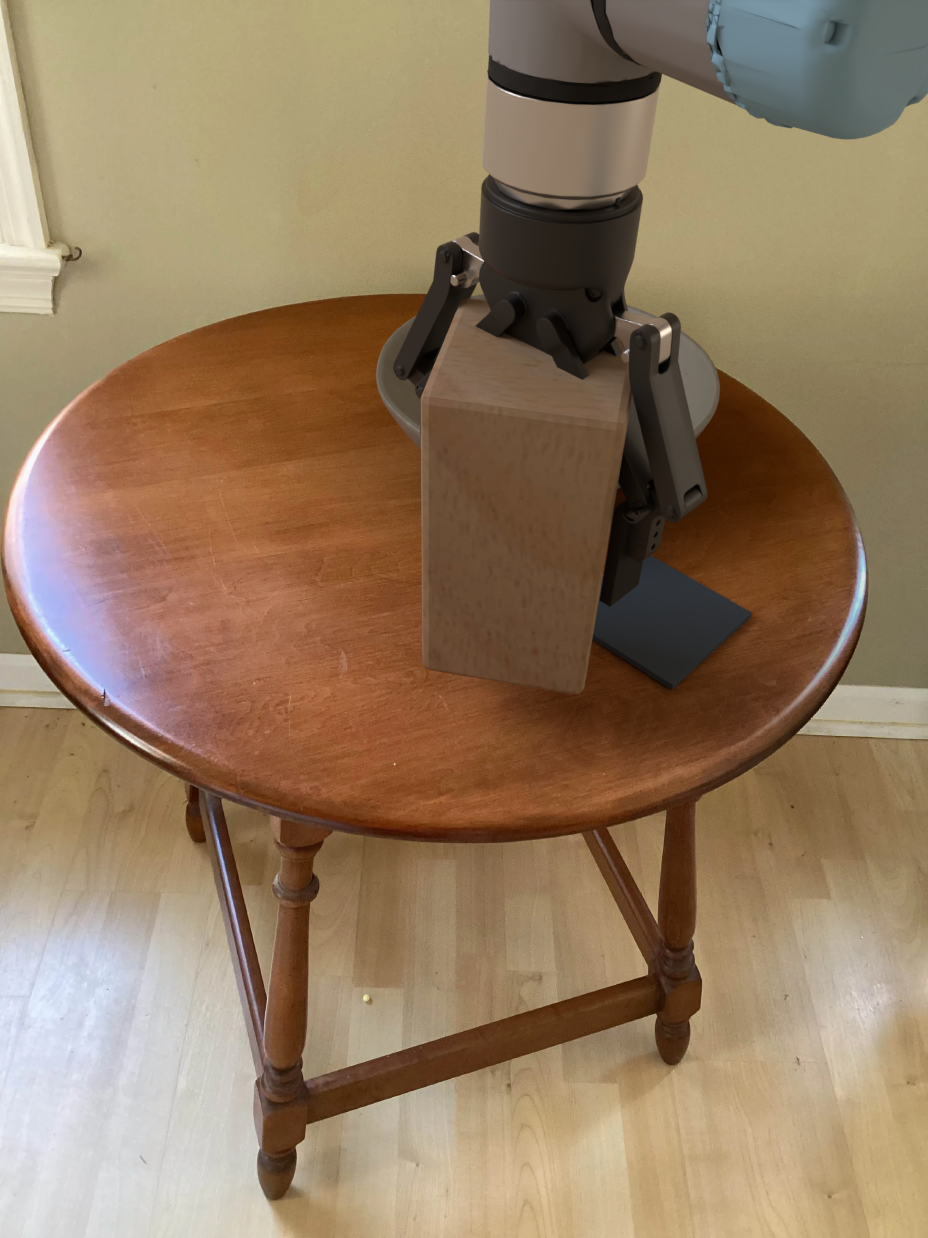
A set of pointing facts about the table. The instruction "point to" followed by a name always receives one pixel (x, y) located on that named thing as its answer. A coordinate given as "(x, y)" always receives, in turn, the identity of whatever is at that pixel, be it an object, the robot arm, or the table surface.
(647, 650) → the mat
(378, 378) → the bowl
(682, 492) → the robot arm
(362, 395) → the table surface
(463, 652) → the wooden block
